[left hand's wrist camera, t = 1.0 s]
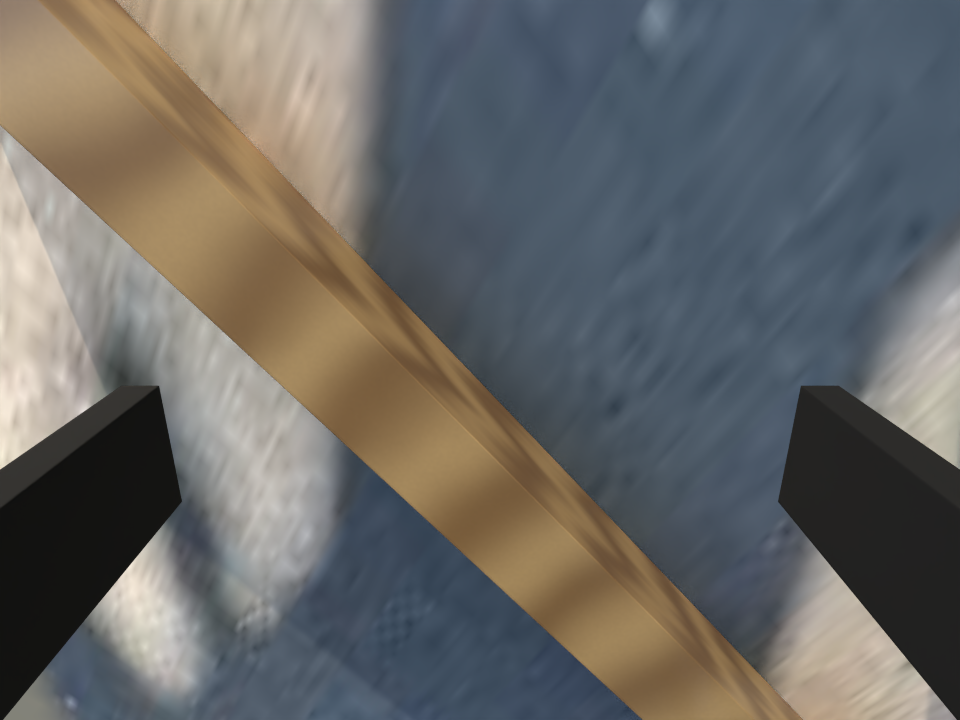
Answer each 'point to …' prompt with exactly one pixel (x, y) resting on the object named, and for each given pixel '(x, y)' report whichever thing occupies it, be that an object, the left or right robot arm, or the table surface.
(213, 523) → the table surface
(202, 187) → the beam
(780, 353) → the table surface
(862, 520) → the left robot arm
